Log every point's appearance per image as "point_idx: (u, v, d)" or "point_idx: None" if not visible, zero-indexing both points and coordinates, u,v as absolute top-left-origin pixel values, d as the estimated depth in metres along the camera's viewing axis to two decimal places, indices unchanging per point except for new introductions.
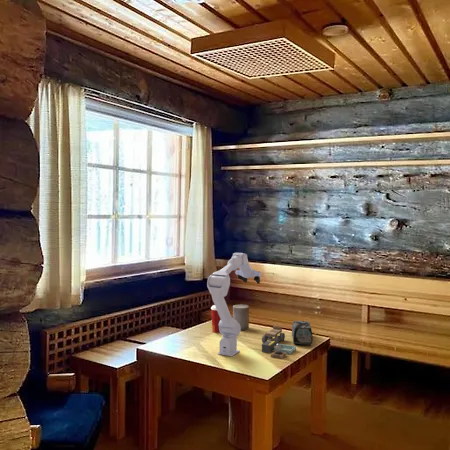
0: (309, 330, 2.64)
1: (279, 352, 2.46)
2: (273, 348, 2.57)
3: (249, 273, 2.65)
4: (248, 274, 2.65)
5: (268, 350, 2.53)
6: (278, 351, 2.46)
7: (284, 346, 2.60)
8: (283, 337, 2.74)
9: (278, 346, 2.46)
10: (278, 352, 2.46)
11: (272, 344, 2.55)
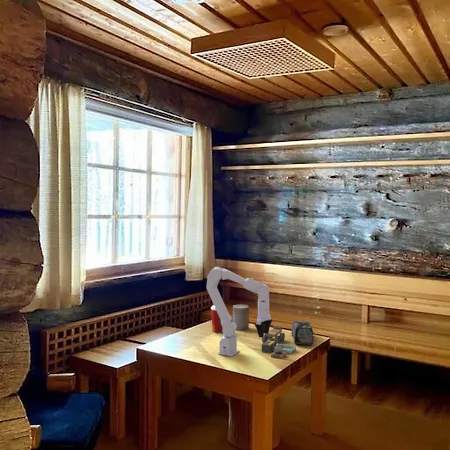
0: (310, 330, 2.65)
1: (279, 352, 2.46)
2: (273, 348, 2.57)
3: (258, 314, 2.47)
4: (258, 314, 2.48)
5: (268, 350, 2.53)
6: (278, 351, 2.46)
7: (284, 346, 2.60)
8: (283, 337, 2.74)
9: (278, 346, 2.46)
10: (278, 352, 2.46)
11: (272, 344, 2.56)
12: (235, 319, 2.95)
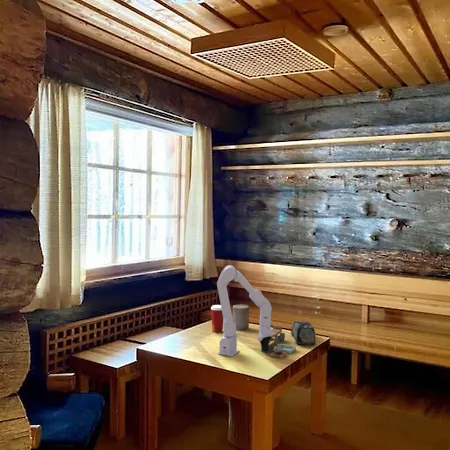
0: (312, 330, 2.65)
1: (279, 352, 2.46)
2: (273, 348, 2.58)
3: (260, 330, 2.50)
4: (259, 330, 2.51)
5: (267, 350, 2.53)
6: (278, 351, 2.46)
7: (284, 346, 2.60)
8: (283, 337, 2.74)
9: (278, 346, 2.46)
10: (278, 352, 2.46)
11: (271, 344, 2.56)
12: (235, 319, 2.95)
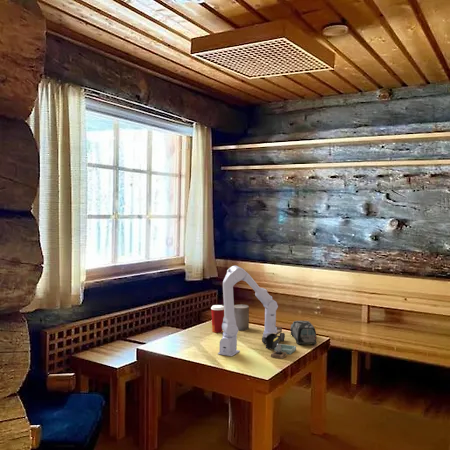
0: (313, 330, 2.65)
1: (279, 352, 2.46)
2: None
3: (265, 326, 2.56)
4: None
5: (272, 346, 2.58)
6: (278, 351, 2.46)
7: (284, 346, 2.60)
8: (283, 337, 2.74)
9: (278, 346, 2.46)
10: (278, 352, 2.46)
11: (276, 340, 2.61)
12: (235, 319, 2.95)
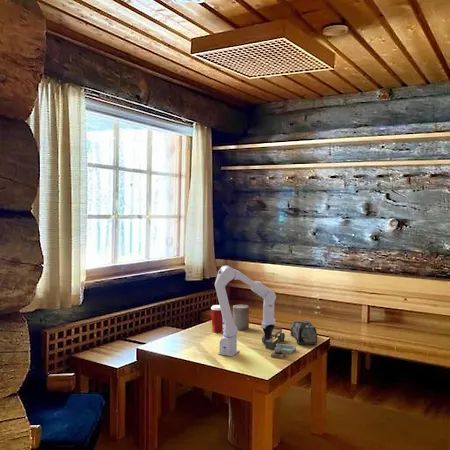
0: (314, 330, 2.65)
1: (279, 352, 2.46)
2: None
3: (263, 318, 2.54)
4: (263, 318, 2.54)
5: (272, 347, 2.58)
6: (278, 351, 2.46)
7: (284, 346, 2.60)
8: (283, 337, 2.74)
9: (278, 346, 2.46)
10: (278, 352, 2.46)
11: (275, 341, 2.61)
12: (235, 319, 2.95)
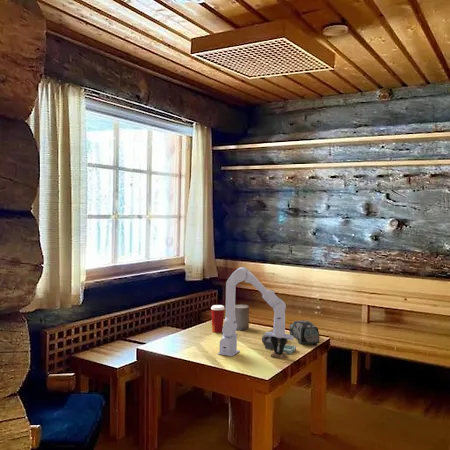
0: (316, 329, 2.66)
1: (279, 352, 2.46)
2: None
3: (282, 331, 2.44)
4: (281, 332, 2.44)
5: (271, 347, 2.58)
6: (278, 351, 2.46)
7: (284, 346, 2.60)
8: None
9: (278, 346, 2.46)
10: (278, 352, 2.46)
11: None
12: None
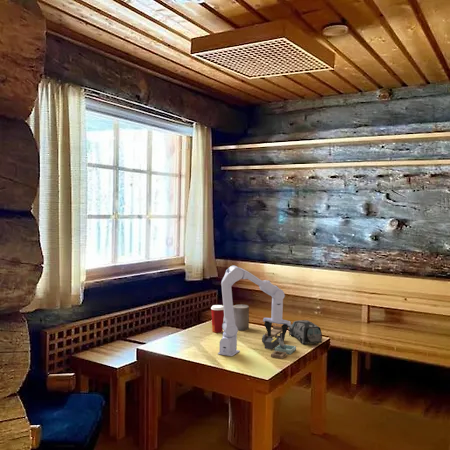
0: (319, 329, 2.67)
1: (283, 345, 2.54)
2: (276, 345, 2.63)
3: (279, 317, 2.54)
4: (278, 317, 2.53)
5: (271, 347, 2.58)
6: (281, 345, 2.54)
7: None
8: None
9: (279, 340, 2.54)
10: (282, 346, 2.54)
11: (274, 341, 2.61)
12: (235, 319, 2.95)
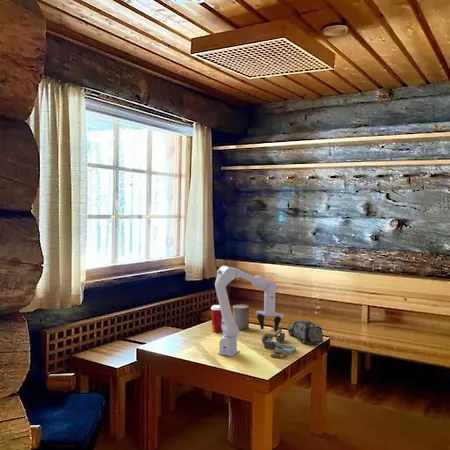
0: (319, 329, 2.68)
1: (280, 345, 2.55)
2: (275, 345, 2.63)
3: (272, 309, 2.56)
4: (271, 310, 2.56)
5: (270, 347, 2.58)
6: (278, 345, 2.55)
7: (284, 346, 2.60)
8: (283, 337, 2.74)
9: (274, 342, 2.56)
10: (279, 345, 2.55)
11: None
12: (235, 319, 2.95)
